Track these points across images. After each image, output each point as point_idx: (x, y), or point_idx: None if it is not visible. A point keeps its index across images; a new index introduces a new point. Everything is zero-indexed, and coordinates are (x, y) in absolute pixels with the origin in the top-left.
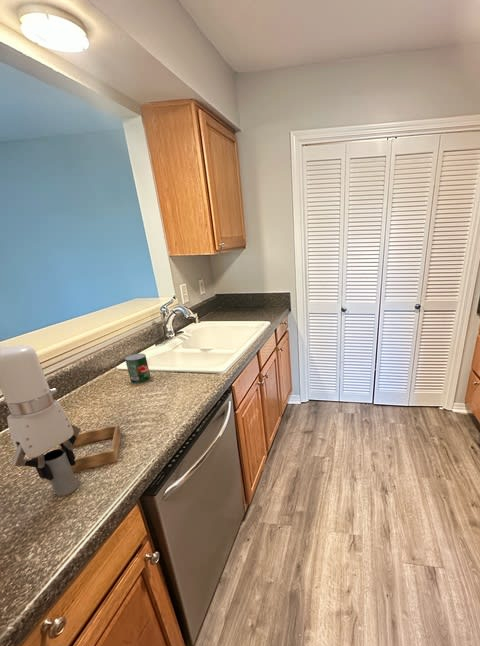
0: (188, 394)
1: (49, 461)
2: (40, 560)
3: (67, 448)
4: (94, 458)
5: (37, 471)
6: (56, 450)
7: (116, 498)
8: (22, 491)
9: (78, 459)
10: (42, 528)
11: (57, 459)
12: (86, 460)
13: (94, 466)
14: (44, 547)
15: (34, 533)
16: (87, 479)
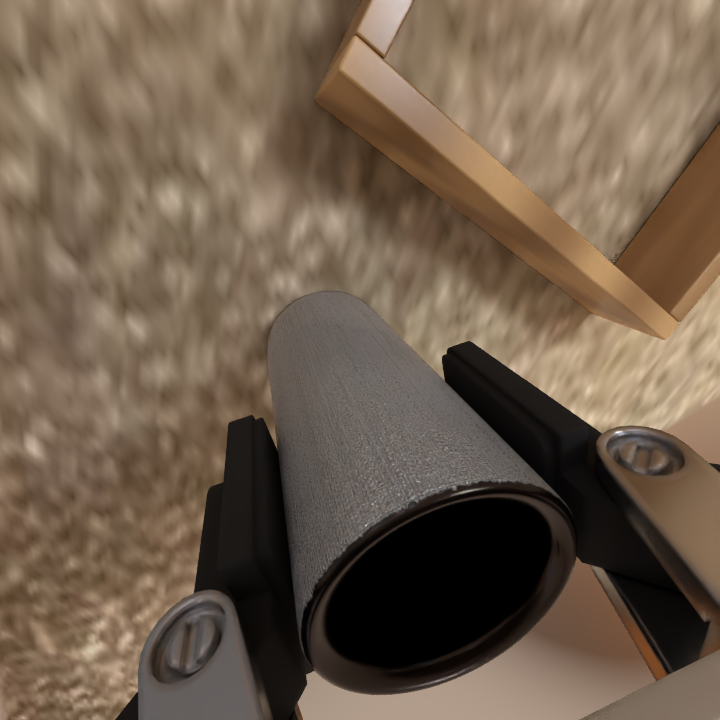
0: None
1: (357, 684)
2: (123, 679)
3: (605, 585)
4: (572, 276)
5: (202, 548)
6: (530, 507)
7: None
8: (61, 43)
9: (525, 225)
10: (152, 546)
11: (427, 660)
12: (539, 248)
13: (518, 256)
14: (144, 638)
15: (115, 555)
16: (431, 346)
